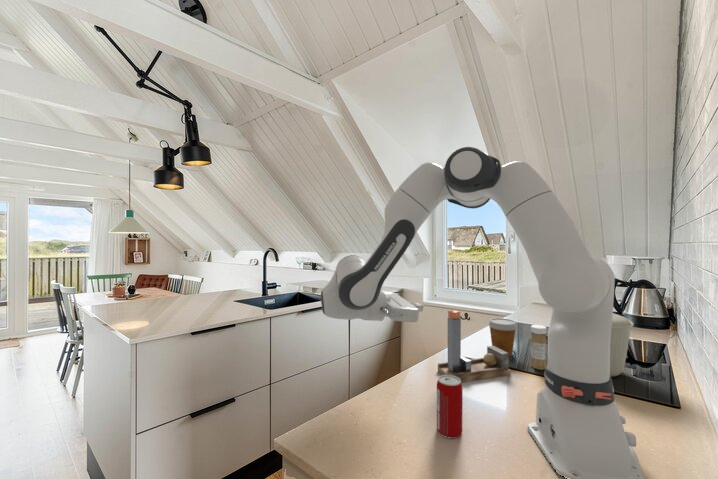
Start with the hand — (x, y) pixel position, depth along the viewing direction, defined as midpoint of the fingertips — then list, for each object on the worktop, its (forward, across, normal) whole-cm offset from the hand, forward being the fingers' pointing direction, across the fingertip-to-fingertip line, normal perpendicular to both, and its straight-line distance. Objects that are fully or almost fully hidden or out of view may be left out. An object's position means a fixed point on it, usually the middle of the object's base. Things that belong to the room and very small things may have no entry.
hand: (421, 307), depth 98 cm
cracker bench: (+20, 0, +20) cm, 28 cm away
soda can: (-2, -26, +21) cm, 34 cm away
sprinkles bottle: (+43, 0, +18) cm, 46 cm away
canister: (+59, -6, +16) cm, 61 cm away
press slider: (+14, 0, +19) cm, 23 cm away
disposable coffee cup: (+39, +13, +19) cm, 45 cm away
